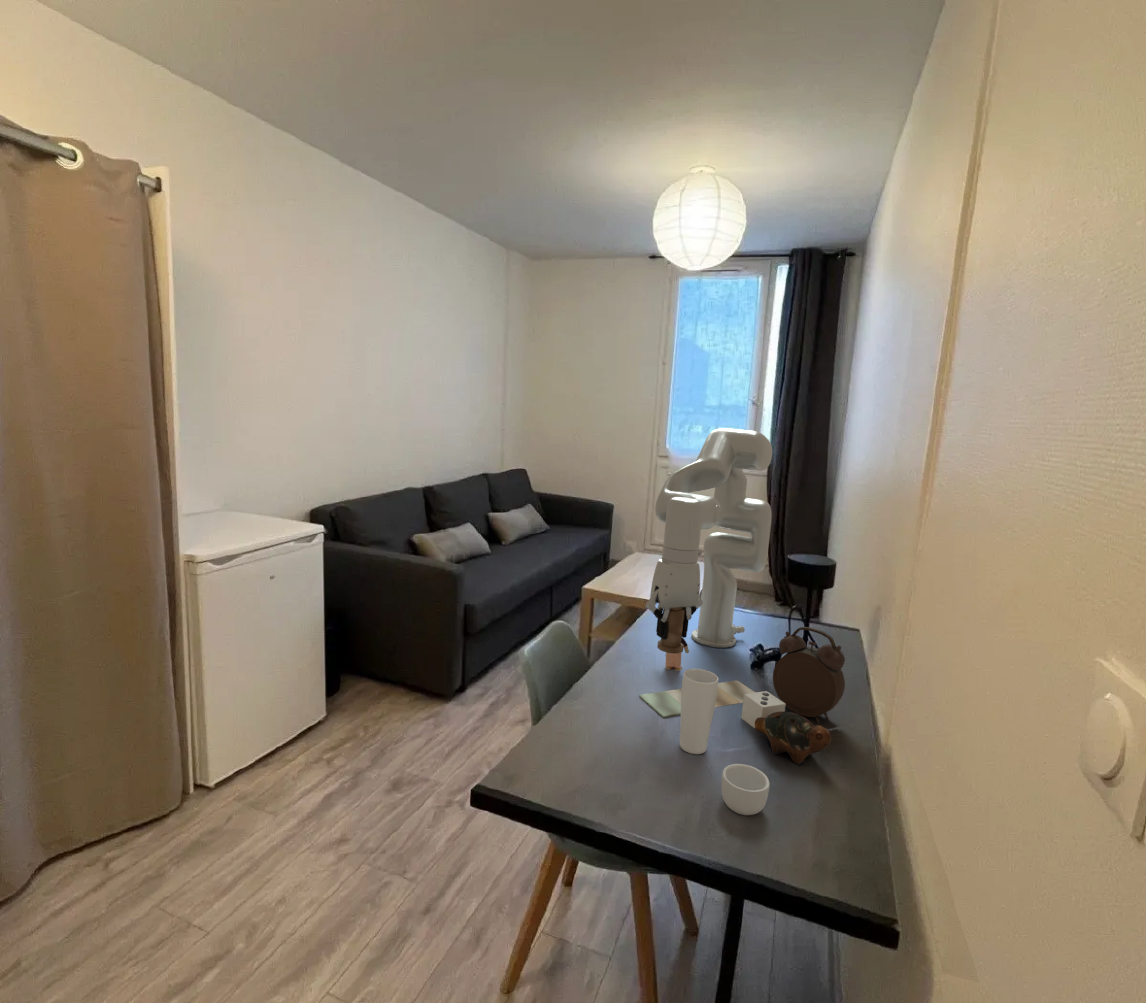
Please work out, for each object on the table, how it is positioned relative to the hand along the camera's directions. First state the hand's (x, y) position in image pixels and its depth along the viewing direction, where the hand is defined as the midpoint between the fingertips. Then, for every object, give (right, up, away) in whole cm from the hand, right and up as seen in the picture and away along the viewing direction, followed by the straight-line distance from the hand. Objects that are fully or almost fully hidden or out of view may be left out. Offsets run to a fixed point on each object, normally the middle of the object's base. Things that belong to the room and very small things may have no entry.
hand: (671, 635), depth 136 cm
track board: (+8, -16, +7) cm, 19 cm away
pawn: (0, -3, 0) cm, 3 cm away
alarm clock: (+30, -18, +3) cm, 35 cm away
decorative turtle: (+21, -20, -13) cm, 32 cm away
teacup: (+7, -22, -30) cm, 38 cm away
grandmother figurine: (+3, -13, +22) cm, 26 cm away
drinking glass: (+2, -19, -14) cm, 24 cm away
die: (+19, -18, -3) cm, 27 cm away
